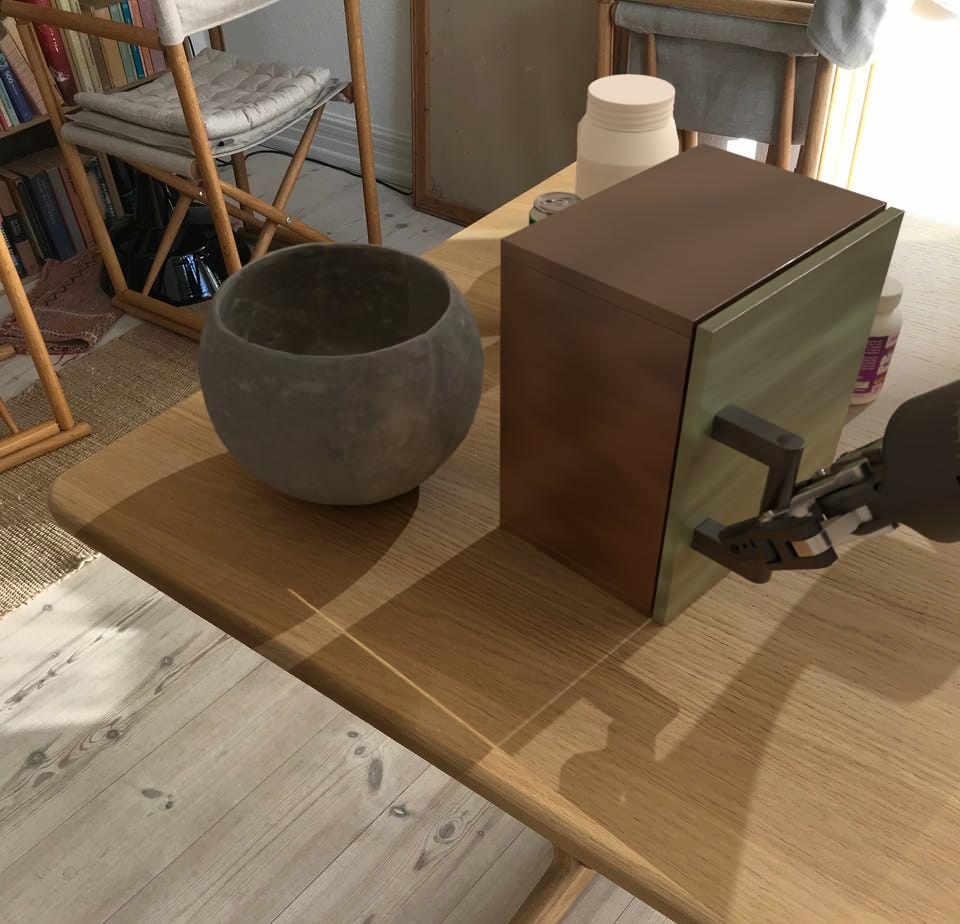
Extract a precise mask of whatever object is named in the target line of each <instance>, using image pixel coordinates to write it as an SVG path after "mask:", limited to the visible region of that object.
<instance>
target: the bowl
mask: <svg viewBox="0 0 960 924" xmlns="http://www.w3.org/2000/svg"><path fill="white" fill-rule="evenodd" d="M483 351H484V349H483V343H482V338H481V335H480V329H479V326H478V323H477V321H476V318H475V315H474V312H473V311H472V309H471V307H470V305H469V303H468V302H467V300H466V298H465V297H464V295H463V293H462V291H461V290H460V289H459V287H458V286H457V285H456V283H455V282H454V280H452V279H451V278H450V276H449V275H448V274H447V273H446V272H445V271H443V270H442V269H441V268H439V267H438V266H436V265H435V264H434V263H432V262H430V261H429V260H426V259H425V258H423V257H420V256H418V255H415V254H414V253H410V252H408V251H404V250H401V249H398V248H395V247H392V246H387V245H381V244H375V243H366V242H350V241H329V242H327V241H326V242H325V241H323V242H321V241H320V242H315V241H314V242H307V243H306V242H305V243H300V244H296V245H291V246H286V247H283V248H280V249H279V248H278V249H277V250H273V251H271V252H268V253H265V254H263V255H260V256H258V257H256V258H255V259H253V260H251V261H250V262H248V263H246V264H245V265H243V266H242V267H240V268H239V269H238V270H236V271H234V273H232V274H231V275H230V276H228V277H227V278H226V279H225V280H224V281H223V282H222V283H221V285H219V287H218V288H217V289H216V291H215V293H214V294H213V297H212V299H211V300H210V303H209V306H208V308H207V311H206V313H205V317H204V321H203V324H202V329H201V333H200V339H199V345H198V351H197V353H198V354H197V367H198V378H199V385H200V389H201V393H202V397H203V401H204V406H205V408H206V412H207V414H208V417H209V419H210V421H211V424H212V426H213V428H214V431H215V433H216V434H217V437H218V438H219V440H220V441H221V443H222V445H223V446H224V447H225V449H226V450H227V452H228V453H229V454H230V456H232V458H234V459H235V460H236V462H237V463H238V464H239V465H240V466H241V467H242V468H243V469H245V470H246V471H247V472H248V473H249V474H250V475H252V476H253V477H254V478H256V479H257V480H258V481H260V482H262V483H264V484H266V485H267V486H269V487H270V488H272V489H274V490H276V491H278V492H280V493H283V494H285V495H288V496H291V497H293V498H295V499H298V500H302V501H306V502H310V503H314V504H321V505H333V506H334V505H335V506H336V505H337V506H362V505H363V506H364V505H372V504H376V503H381V502H384V501H387V500H390V499H393V498H396V497H398V496H400V495H403V494H405V493H408V492H410V491H411V490H414V489H415V488H416V487H418V486H420V485H422V484H423V483H425V482H426V481H427V480H429V479H430V478H431V477H432V476H433V475H434V474H435V473H436V472H437V471H438V470H439V469H440V468H441V467H442V466H444V464H445V463H447V461H448V460H449V458H451V457H452V455H454V453H455V451H456V450H457V449H458V447H460V445H461V444H463V442H464V441H465V440H466V438H467V436H468V434H469V432H470V430H471V428H472V426H473V423H474V421H475V418H476V415H477V413H478V412H477V411H478V408H479V405H480V402H481V398H482V390H483V382H484V370H485V369H484V368H485V367H484V366H485V364H484V363H485V361H484V352H483Z"/></svg>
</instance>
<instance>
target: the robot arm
mask: <svg viewBox="0 0 960 924" xmlns="http://www.w3.org/2000/svg"><path fill="white" fill-rule="evenodd" d="M884 429H885V430H884V434H883V436H882V437H880V438H878V439H875V440H873V441H871V442H869V443H866V444H864V445H862V446H860V447H858V448H855V449H853V450H851V451H845V452H844V453H842V454H840V455H839V457H837V458H836V459H835V461H834V462H833V464H832V465H831V466H830V467H828V468H825V469H823V468H821V469H819V470H817V471H816V472H815V474H813V475H812V476H811V477H810V479H807V480H804V481H801V482H798V483H796V484H795V487H794V490H793V494H792V498H791V502H790V503H789V504H787V505H785V506H782V507H780V508H777V509H775V510H772V511H771V510H769V511H767V512H765V513H764V514H762V515H759V516H756V517H753V518H750V519H747V520H744V521H741V522H738V523H735V524H732V525H729V526H727V527H726V528H724V529H723V530H722V531H720V532H719V535H718V537H719V540H720V542H721V543H722V545H723V547H724V549H725V551H726V553H727V554H728V556H729V558H730V559H731V560H732V561H733V562H735V563H741V562H745V561H748V560H752V559H755V558H759V557H763V559H764V561H765V565H766V567H767V568H768V570H769V571H772V572H775V571H777V572H779V571H803V570H804V571H805V570H806V571H808V570H822V569H825V568H829V567H831V566H832V565H834V563H835V562H837V561H838V560H839V555H838V554H837V552H836V550H835V548H837V547H840V546H843V545H846V544H848V543H851V542H855V541H857V540H859V539H867V540H872V539H876V538H879V537H881V536H885V535H887V534H890V533H892V532H894V531H895V530H897V529H899V528H900V527H901V525H903V526H906V527H907V528H909V529H911V530H913V531H914V532H916V533H917V534H919V535H920V536H922V537H923V538H925V539H927V540H930V541H932V542H935V543H940V544H955V543H960V378H959V379H956V380H954V381H951V382H948V383H947V384H944V385H942V386H939V387H936V388H934V389H931V390H928V391H926V392H923V393H920V394H918V395H915V396H914V397H911V398H908V399H907V400H905V401H903V403H901V404H900V405H899V406H898V407H897V408H896V409H895V410H894V411H893V413H892V415H891V416H890V418H889V419H888V422H887V424H886V427H885V428H884ZM761 501H762V499H761Z"/></svg>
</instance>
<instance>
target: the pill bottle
mask: <svg viewBox="0 0 960 924" xmlns="http://www.w3.org/2000/svg"><path fill="white" fill-rule="evenodd" d="M904 287H905V286H904V284H903V283H902V282H901V281H900V280H899V279H897V278H895V277H893V276H890V275H887V276H886V279H885V283H884V286H883V290H882V293H881V297H880V300H879V304H878V307H877V311H876V314H875V318H874V321H873V325H872V328H871V332H870V335H869V339H868V342H867V346H866V349H865V353H864V356H863V360H862V363H861V367H860V370H859V374H858V377H857V381H856V384H855V388H854V391H853V395H852V398H851V401H850V405H851V406H852V405H854V406H855V405H856V406H858V405H865V404H866V405H867V404H868V403H872V402H873V401H875V400H876V399H877V398H878V397H879V396H880V395H881V392H882V389H883V387H884V383H885V381H886V378H887V374H888V371H889V368H890V365H891V361H892V359H893V355H894V353H895V349H896V346H897V343H898V340H899V336H900V334H901V329H902V326H903V322H904V318H903V313H902V311H901V310H900V308H899V305H900V303H901V300H902V297H903V293H904V289H905V288H904Z"/></svg>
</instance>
